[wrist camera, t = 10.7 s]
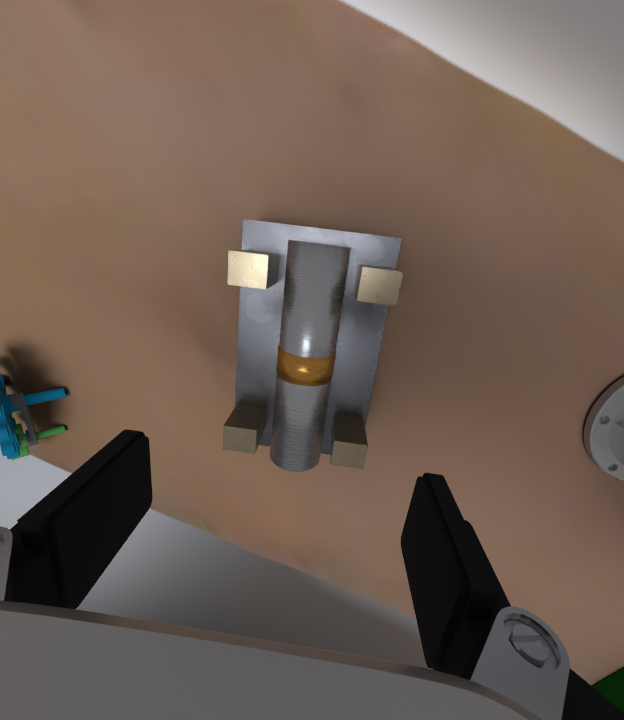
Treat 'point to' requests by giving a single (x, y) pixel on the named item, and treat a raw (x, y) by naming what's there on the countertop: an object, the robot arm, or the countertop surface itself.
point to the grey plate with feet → (354, 343)
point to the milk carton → (613, 688)
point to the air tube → (307, 351)
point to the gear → (6, 431)
